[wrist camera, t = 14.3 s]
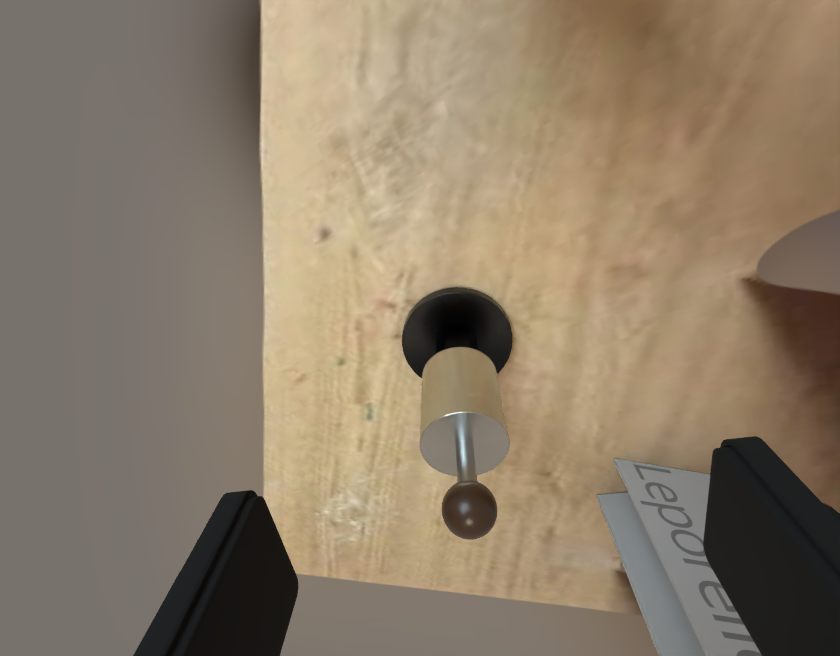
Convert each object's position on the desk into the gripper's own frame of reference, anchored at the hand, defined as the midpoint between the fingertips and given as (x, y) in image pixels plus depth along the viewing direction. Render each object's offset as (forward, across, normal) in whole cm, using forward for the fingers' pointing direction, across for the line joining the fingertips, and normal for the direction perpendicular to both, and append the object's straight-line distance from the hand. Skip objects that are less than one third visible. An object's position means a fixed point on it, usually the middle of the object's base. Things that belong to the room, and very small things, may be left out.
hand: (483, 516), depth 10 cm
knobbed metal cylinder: (+20, +1, +16) cm, 26 cm away
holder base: (+32, +1, +12) cm, 34 cm away
